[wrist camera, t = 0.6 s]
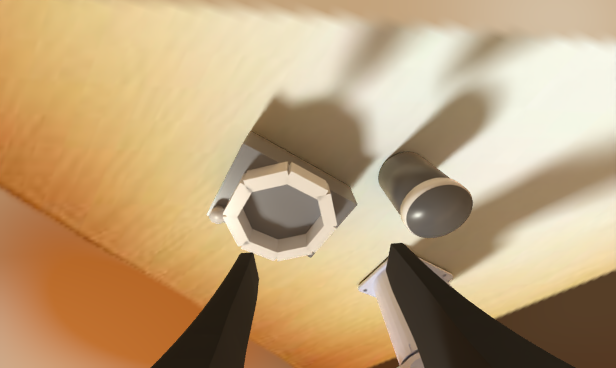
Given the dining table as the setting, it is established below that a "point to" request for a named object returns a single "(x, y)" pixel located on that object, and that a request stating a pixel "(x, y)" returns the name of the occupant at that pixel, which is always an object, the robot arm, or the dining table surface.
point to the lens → (424, 195)
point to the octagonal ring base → (279, 202)
